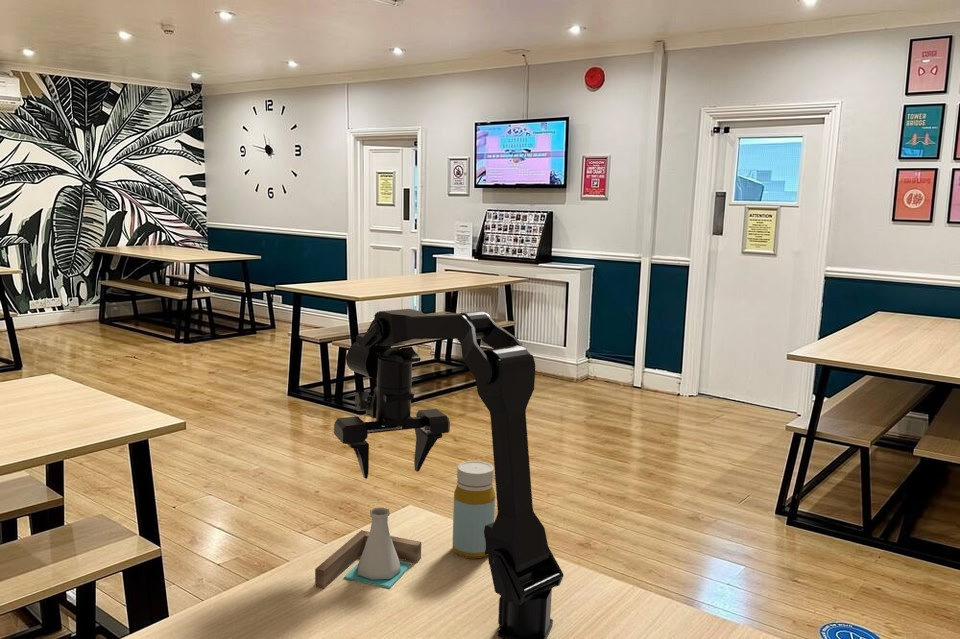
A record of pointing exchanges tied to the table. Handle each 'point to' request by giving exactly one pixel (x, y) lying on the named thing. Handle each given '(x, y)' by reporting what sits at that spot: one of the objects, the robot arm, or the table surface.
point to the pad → (378, 582)
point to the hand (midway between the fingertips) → (391, 474)
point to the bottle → (473, 508)
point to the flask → (379, 549)
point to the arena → (354, 550)
